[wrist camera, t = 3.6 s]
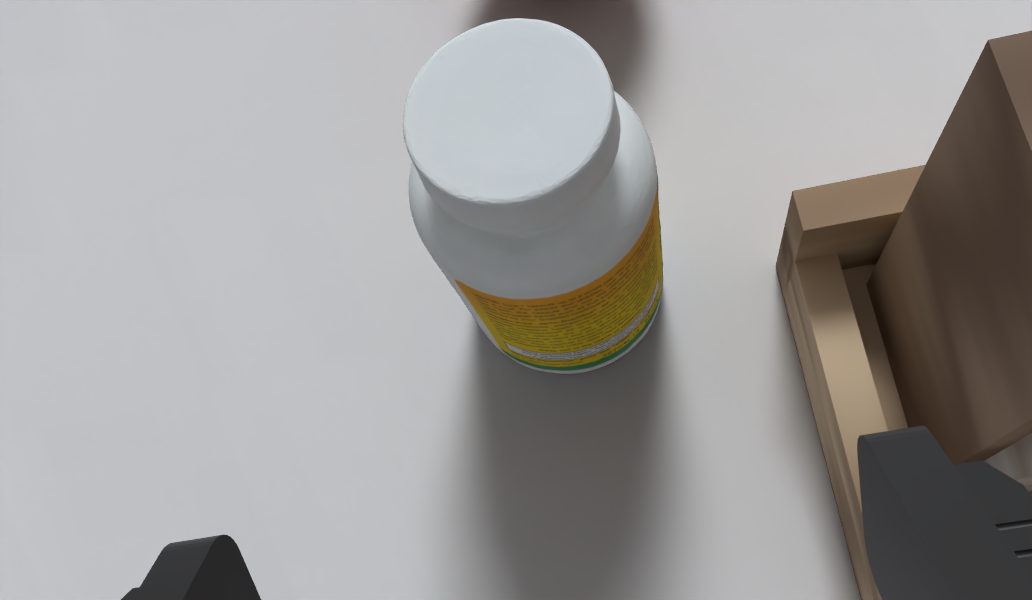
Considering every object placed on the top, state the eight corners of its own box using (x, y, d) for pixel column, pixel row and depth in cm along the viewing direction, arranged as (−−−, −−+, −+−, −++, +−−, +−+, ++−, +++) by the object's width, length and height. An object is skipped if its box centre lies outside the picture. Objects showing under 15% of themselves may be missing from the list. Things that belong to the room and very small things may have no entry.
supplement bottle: (440, 284, 26) (310, 107, 17) (578, 168, 27) (521, -63, 18) (559, 420, 24) (481, 298, 15) (707, 291, 25) (714, 100, 16)
